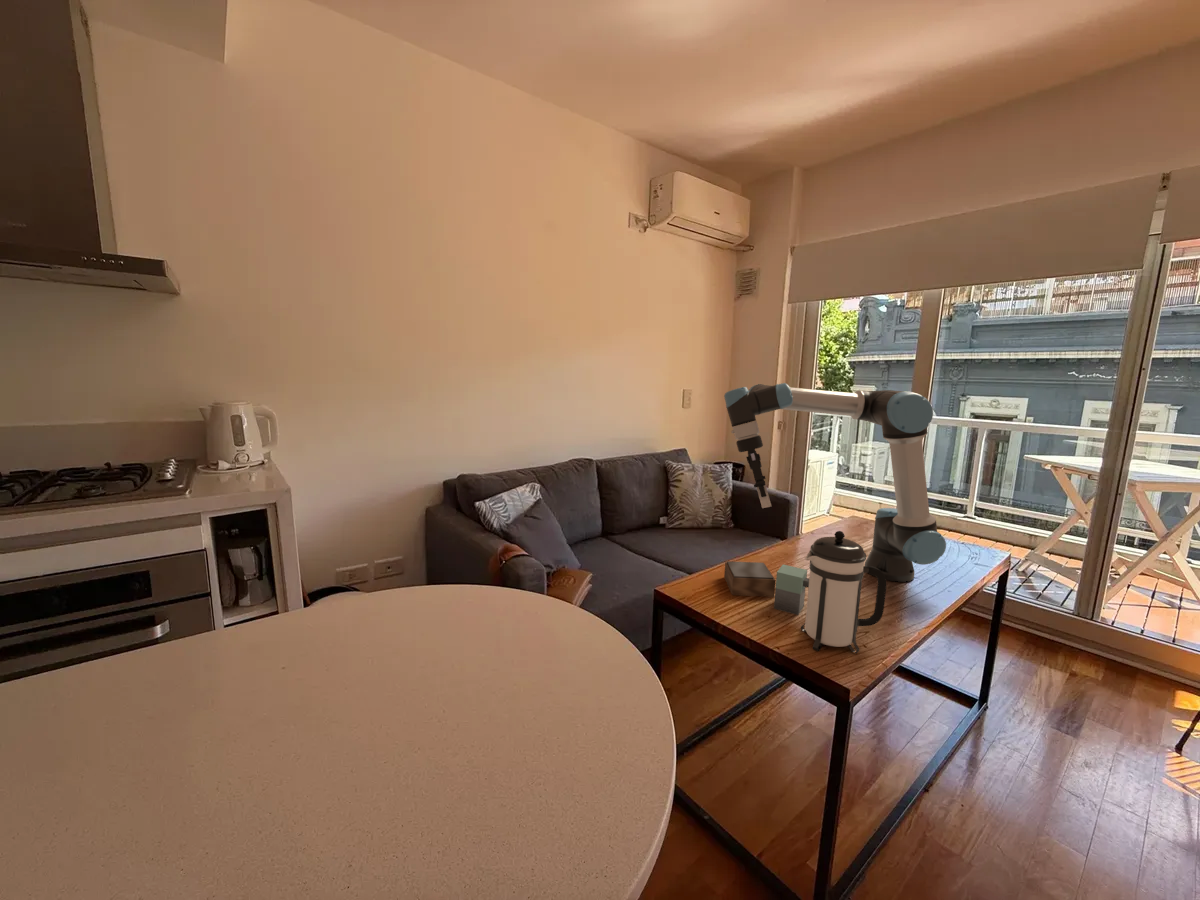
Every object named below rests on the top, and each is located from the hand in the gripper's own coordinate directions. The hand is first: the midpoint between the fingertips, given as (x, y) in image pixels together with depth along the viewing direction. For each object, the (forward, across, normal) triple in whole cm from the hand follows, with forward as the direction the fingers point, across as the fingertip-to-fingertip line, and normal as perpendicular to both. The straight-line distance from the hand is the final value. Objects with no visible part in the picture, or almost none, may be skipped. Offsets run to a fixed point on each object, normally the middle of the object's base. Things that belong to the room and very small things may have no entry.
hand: (765, 503), depth 155 cm
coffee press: (+35, +22, +7) cm, 42 cm away
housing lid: (+24, +7, +1) cm, 25 cm away
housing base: (+30, +6, -2) cm, 31 cm away
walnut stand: (+26, -4, -12) cm, 29 cm away
